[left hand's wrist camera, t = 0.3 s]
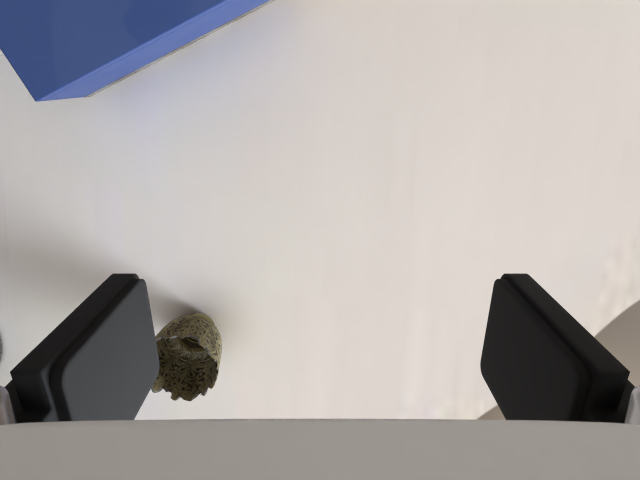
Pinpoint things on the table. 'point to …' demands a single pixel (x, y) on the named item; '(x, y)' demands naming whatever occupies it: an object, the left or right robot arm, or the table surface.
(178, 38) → the blue box
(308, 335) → the table surface
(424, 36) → the table surface
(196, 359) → the cup
